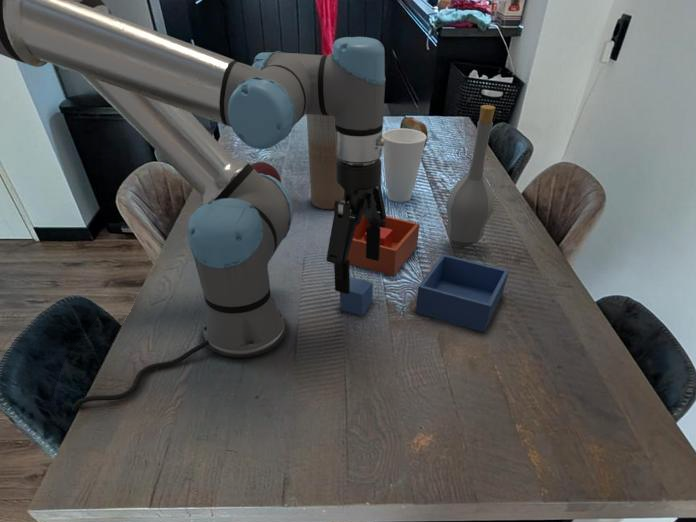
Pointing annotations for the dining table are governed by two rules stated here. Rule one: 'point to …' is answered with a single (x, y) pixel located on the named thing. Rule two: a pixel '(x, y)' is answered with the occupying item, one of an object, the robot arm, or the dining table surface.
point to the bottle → (472, 191)
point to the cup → (402, 161)
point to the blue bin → (461, 292)
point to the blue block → (357, 297)
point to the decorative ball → (266, 170)
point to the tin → (414, 125)
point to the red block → (384, 237)
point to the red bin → (389, 257)
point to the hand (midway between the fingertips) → (358, 274)
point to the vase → (323, 161)
